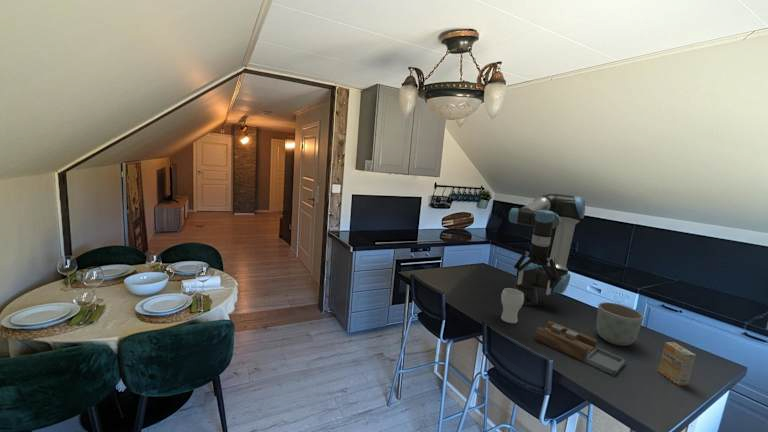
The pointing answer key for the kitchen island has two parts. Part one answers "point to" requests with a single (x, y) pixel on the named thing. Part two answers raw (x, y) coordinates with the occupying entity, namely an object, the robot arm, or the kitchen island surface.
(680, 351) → the supplement box
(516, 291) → the cup
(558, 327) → the chip rear
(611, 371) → the tray
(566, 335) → the chip front
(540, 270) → the robot arm
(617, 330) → the planter
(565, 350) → the slot board
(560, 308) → the kitchen island surface
